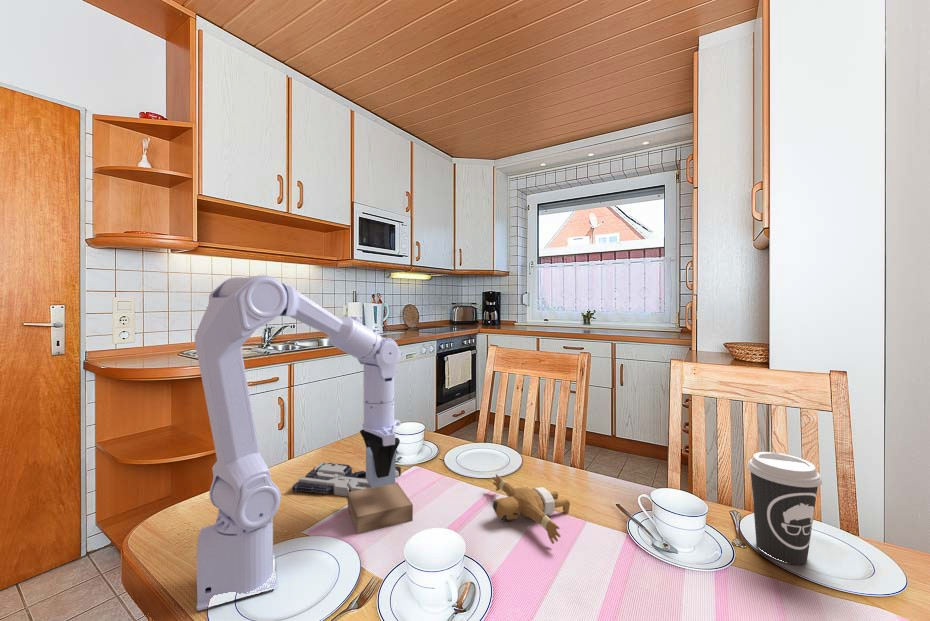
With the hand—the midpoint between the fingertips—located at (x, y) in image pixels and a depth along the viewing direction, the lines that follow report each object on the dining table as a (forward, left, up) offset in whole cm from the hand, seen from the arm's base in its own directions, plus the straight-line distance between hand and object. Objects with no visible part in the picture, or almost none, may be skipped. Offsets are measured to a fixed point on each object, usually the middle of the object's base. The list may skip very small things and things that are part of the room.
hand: (379, 471), depth 77 cm
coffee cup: (+56, -40, -8) cm, 69 cm away
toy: (+26, -13, -9) cm, 30 cm away
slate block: (0, 0, -2) cm, 2 cm away
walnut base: (0, 0, -8) cm, 8 cm away
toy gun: (-2, +16, -9) cm, 18 cm away
